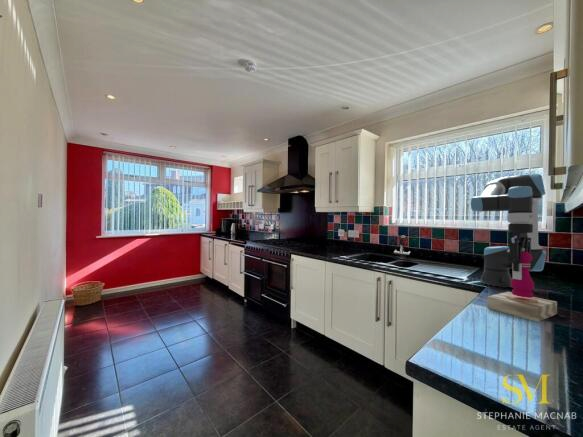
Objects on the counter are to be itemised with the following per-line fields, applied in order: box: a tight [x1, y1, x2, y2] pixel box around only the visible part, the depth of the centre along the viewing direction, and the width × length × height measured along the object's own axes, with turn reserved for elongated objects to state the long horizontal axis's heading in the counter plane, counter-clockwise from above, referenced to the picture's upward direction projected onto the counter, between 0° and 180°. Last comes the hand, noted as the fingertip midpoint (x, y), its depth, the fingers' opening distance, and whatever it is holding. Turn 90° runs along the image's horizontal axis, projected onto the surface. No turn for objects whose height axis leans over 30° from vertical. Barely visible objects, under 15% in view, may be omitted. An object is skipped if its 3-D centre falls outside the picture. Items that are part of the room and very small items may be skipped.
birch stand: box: [486, 291, 558, 322], centre depth 101 cm, size 18×16×5 cm
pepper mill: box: [511, 248, 535, 298], centre depth 101 cm, size 7×7×20 cm
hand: (520, 278), depth 101 cm, fingers closed on pepper mill, 6 cm apart
